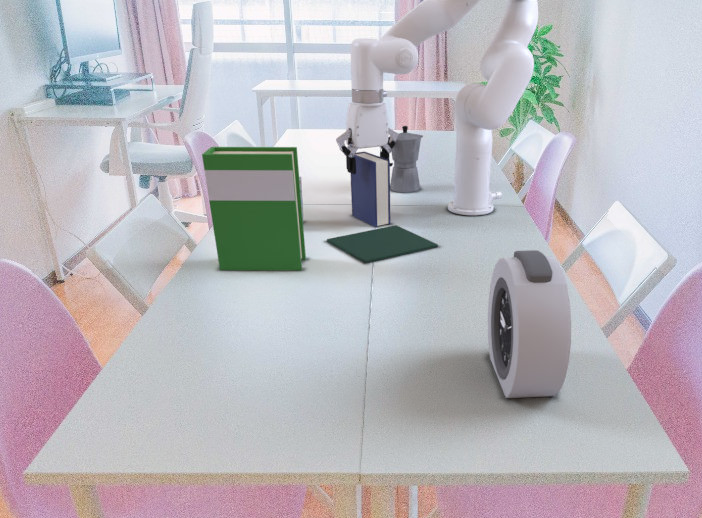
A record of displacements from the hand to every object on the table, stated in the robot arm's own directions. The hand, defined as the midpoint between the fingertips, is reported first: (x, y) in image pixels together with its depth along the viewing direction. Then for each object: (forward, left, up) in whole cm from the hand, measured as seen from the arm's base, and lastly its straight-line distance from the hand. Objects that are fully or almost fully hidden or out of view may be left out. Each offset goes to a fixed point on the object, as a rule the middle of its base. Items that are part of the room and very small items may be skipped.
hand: (368, 170), depth 168 cm
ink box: (+20, -7, -13) cm, 24 cm away
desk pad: (+8, +18, -13) cm, 23 cm away
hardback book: (+37, +15, -13) cm, 42 cm away
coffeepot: (-24, -21, -13) cm, 35 cm away
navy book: (0, 0, -13) cm, 13 cm away
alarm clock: (+23, +84, -13) cm, 88 cm away
